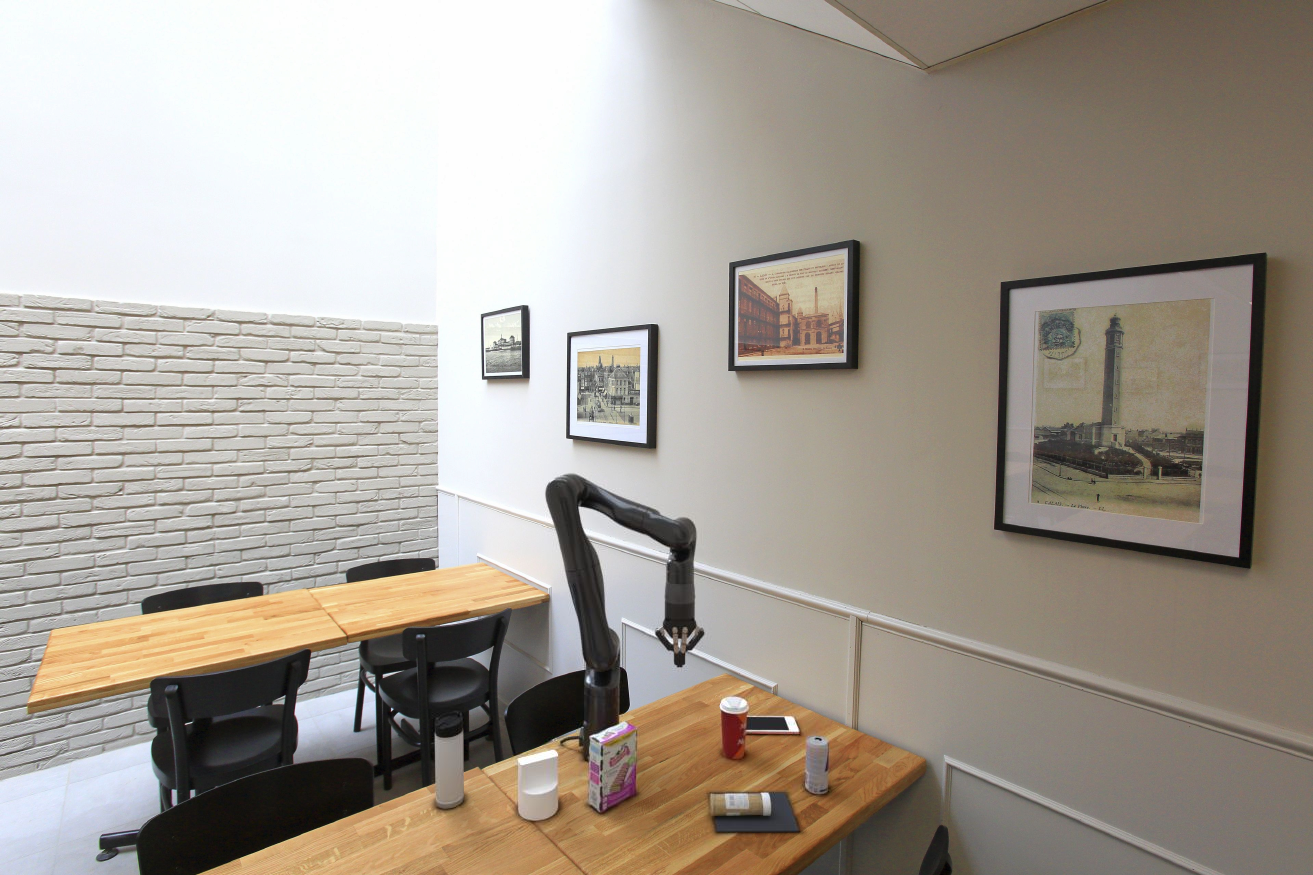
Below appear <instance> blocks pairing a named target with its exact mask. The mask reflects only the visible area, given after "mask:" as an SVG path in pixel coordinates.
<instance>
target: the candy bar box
mask: <svg viewBox="0 0 1313 875" xmlns="http://www.w3.org/2000/svg"><path fill="white" fill-rule="evenodd" d="M637 754H638V727H637V726H635V725H632V724H630V723H629V722H626V721H625V720H623V721H622V722H619V724H617V725H615V726H613V727H610V728H608V729H606V730H603V731H601V732H599V733H596V734H594V735H592V736H589V760H588V795H587V796H588V797H587V798H588V806H590V807H591V808H593V809H594V810H596V811H597V812H598V813H600V814H602V813H604V812H606V811H607V810H610V809H611V808H613V807H615V806H617V805H618V804H620V803H621V802H624V801H626V800H627V799H629V798H630V797H632V796H634V795H636V794H637V756H638V755H637Z"/></svg>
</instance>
